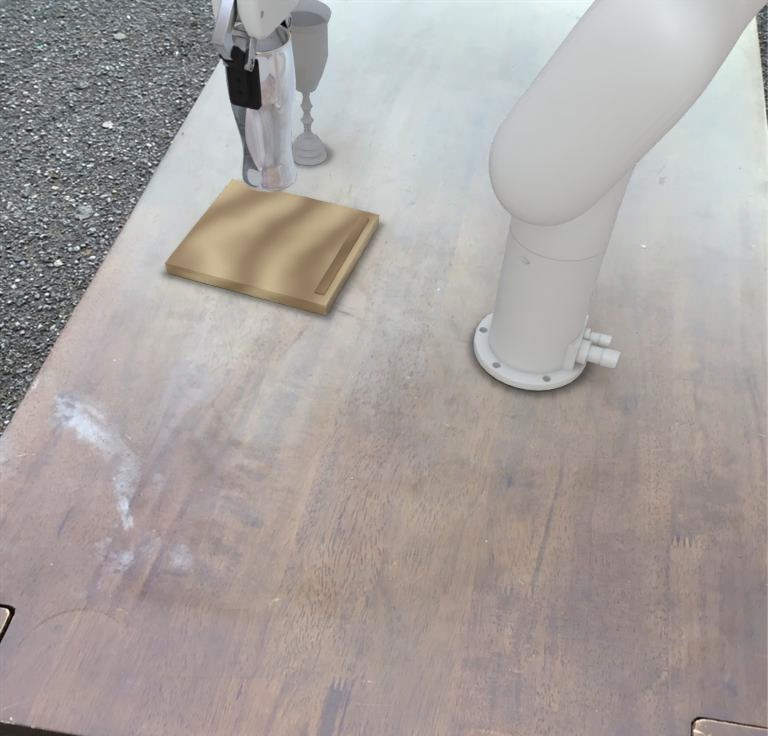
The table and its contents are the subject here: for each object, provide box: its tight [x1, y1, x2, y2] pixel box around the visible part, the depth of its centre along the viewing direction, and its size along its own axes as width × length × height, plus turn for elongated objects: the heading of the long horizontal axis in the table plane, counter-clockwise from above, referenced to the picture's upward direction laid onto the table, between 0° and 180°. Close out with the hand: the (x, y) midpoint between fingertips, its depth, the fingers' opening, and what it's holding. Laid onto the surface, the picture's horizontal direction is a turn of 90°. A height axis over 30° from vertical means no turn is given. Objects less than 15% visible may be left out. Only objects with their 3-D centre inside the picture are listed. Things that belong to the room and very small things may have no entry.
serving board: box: [164, 178, 380, 317], centre depth 98 cm, size 20×18×2 cm
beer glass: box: [224, 22, 298, 192], centre depth 85 cm, size 7×7×15 cm
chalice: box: [288, 0, 332, 166], centre depth 103 cm, size 7×7×18 cm
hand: (262, 86), depth 83 cm, fingers closed on beer glass, 7 cm apart
